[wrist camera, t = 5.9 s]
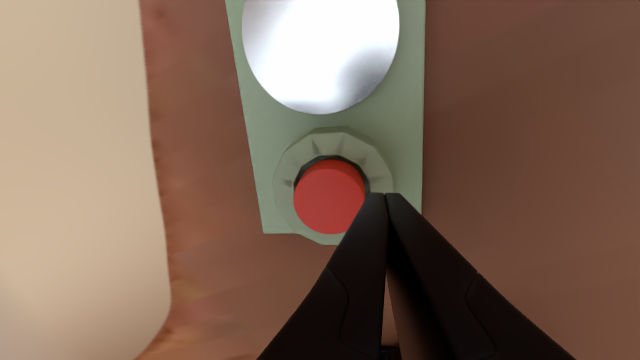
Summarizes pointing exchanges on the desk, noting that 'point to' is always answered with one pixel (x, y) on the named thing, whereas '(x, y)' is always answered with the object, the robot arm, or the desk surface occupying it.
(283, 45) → the plate
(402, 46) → the warmer
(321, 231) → the button
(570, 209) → the desk surface
